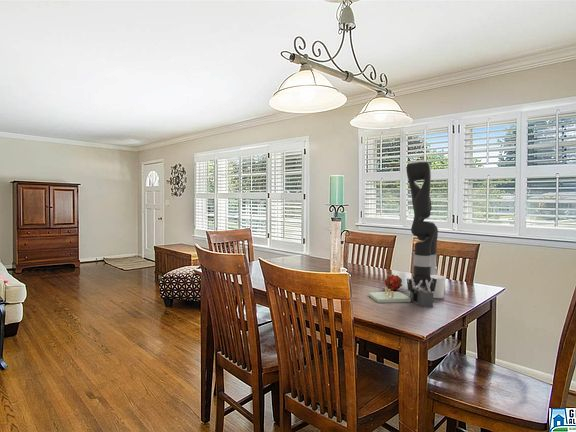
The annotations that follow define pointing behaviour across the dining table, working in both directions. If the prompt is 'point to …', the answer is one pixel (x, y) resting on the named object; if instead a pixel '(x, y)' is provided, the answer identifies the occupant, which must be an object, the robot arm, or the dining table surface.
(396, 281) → the dragon fruit
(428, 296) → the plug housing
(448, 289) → the dining table surface
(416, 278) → the robot arm
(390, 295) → the board
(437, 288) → the white cup
